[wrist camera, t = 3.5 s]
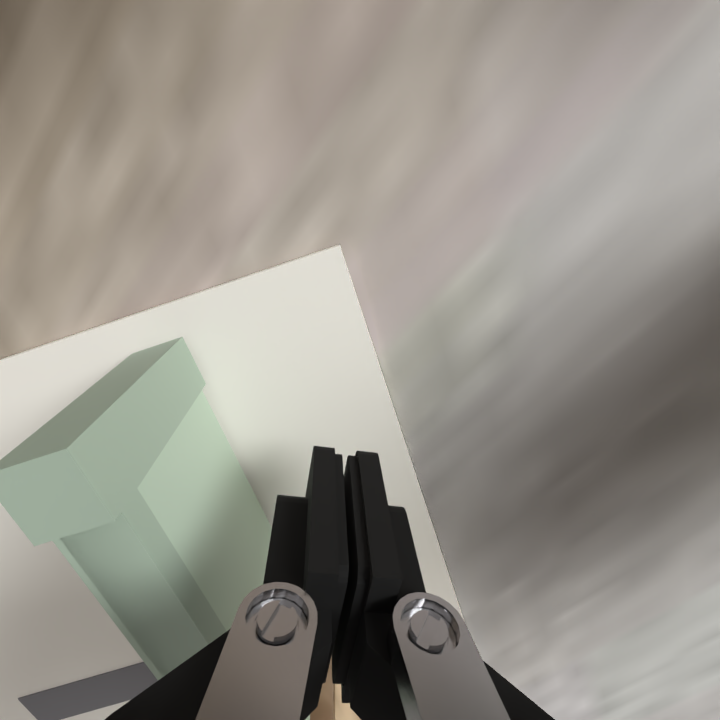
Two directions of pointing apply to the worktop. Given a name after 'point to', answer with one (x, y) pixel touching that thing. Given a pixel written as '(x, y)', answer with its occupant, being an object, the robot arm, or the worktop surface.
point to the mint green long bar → (145, 504)
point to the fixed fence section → (332, 702)
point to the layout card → (244, 433)
